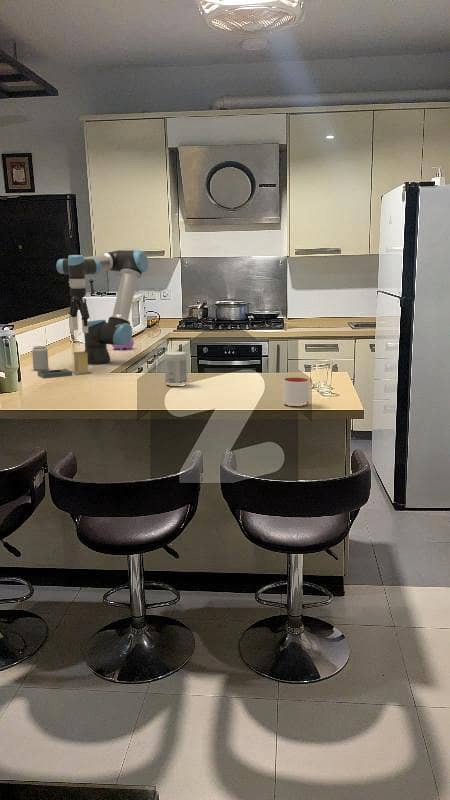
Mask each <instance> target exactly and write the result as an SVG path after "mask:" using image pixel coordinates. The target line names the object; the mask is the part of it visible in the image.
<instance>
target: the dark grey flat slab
mask: <svg viewBox="0 0 450 800" xmlns="http://www.w3.org/2000/svg"><path fill="white" fill-rule="evenodd" d="M72 372H73V371H72V370H70V369H67V368H59V369H49V370H48V369H47V370H43V371H37V376H38V377H40V378H42V379H50V378H59V377H70V376H71V377H72V376H73V373H72Z"/></svg>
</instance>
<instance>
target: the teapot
mask: <svg viewBox="0 0 450 800" xmlns="http://www.w3.org/2000/svg"><path fill="white" fill-rule="evenodd" d="M134 344H135V342H134V339H133V336H132V337H131V340H130V341H129V342H128V343H127V344H125V345H111V346H112V348H114V350H118V351H123V350H122V349H124V348H126V349H130V350H131V349H132V348H133V346H134ZM118 348H119V349H118Z"/></svg>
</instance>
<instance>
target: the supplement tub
mask: <svg viewBox="0 0 450 800" xmlns="http://www.w3.org/2000/svg"><path fill="white" fill-rule="evenodd" d="M187 371H188V369H187V354H186V352H184V351H168V352H164V374H165V376H164V379H165V383H166V382H169V383H182V382H186V381H187V382H188V380H187V379H188V378H187V377H188V376H187Z"/></svg>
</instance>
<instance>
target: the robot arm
mask: <svg viewBox="0 0 450 800" xmlns="http://www.w3.org/2000/svg"><path fill="white" fill-rule="evenodd" d="M55 265H56V266H55V267H56V271H57V272H58V273H59V274H63V275H68V280H69V281H68V284H69V295H70V308H69V316H70V317H71V330H72V331H78V330H79V323H78V320H79V319H78V312H80V316H81V327H82V328H81V331H82V334H83V335H84V352H87V353H88V354H87V356H88V365H104V364H109V363H111V356H110V353H109V352H108V347H107V345H111V346H112V345H125V344H127V343H128V342H129V341H130V340H131V337H132V338H133V328H132V325H131V322H130V321H129V317H130V313H131V309H132V304H133V300H134V296H135V291H136V288H137V283H138V280H139V279H140V278H142V275H143V273H146V272H147V271H148V269H149V260H148V257H147V254H146V253H145V252H144V251H143V250H137V249H134V250H133V249H131V250H129V249H128V250H125V249H124V250H122V249H120V250H114V251H109V252H103V253H101V254H100V255H92V256H84V255H82V254H70V255H68V256H67V258H60V259H58V260H57V261H56V263H55ZM100 271H103V272H109V271H110V272H120V274H121V278H120V283H119V288H118V291H117V295H116V299H115V304H114V307H113V312H112V314H111V316H108V320H107V321H106V319H97V320H89V319H90V317H91V316H90V313H89V308H88V305H87V299H86V295H87V289H86V288H85V287H87V285H86V276H87V275H93V276H94V275H97V274H99V273H100ZM83 297H85V298H83Z"/></svg>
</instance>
